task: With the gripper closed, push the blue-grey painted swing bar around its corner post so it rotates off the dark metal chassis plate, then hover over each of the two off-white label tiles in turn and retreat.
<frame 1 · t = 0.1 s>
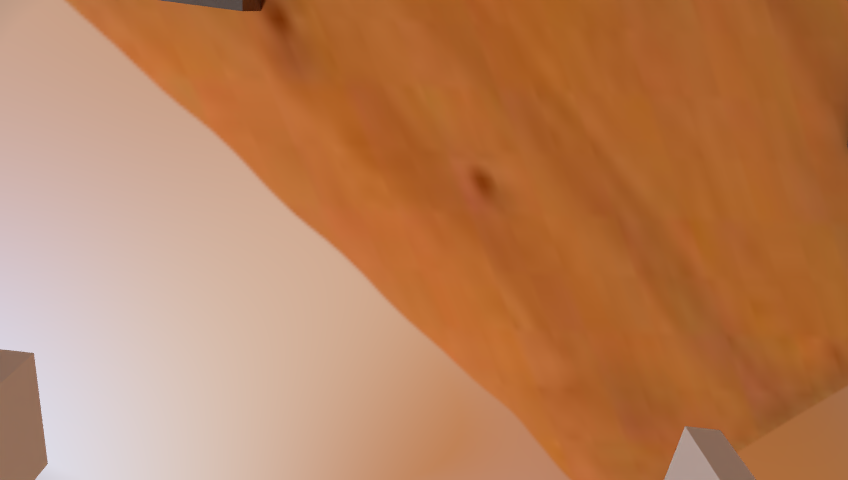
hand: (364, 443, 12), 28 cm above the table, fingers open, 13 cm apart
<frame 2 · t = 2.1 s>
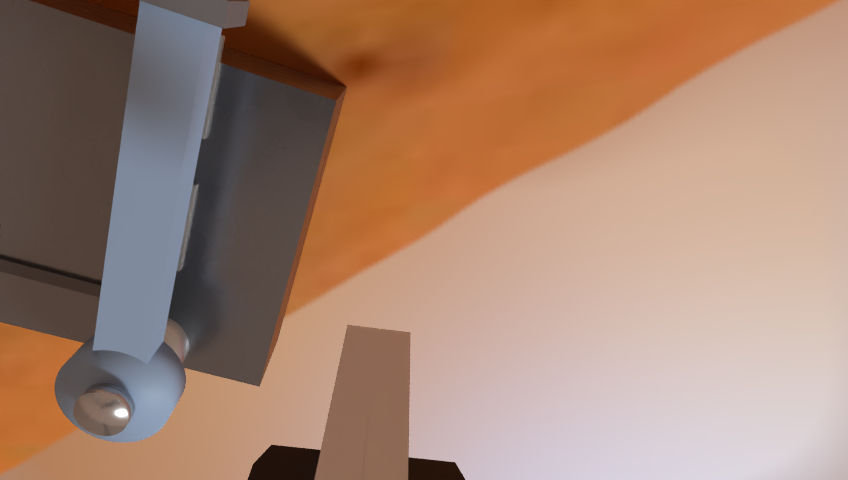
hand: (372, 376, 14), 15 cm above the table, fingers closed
chassis: (123, 170, 27), on the table
swing bar: (146, 239, 21), point 7 cm above the table, hinge at 0.0°
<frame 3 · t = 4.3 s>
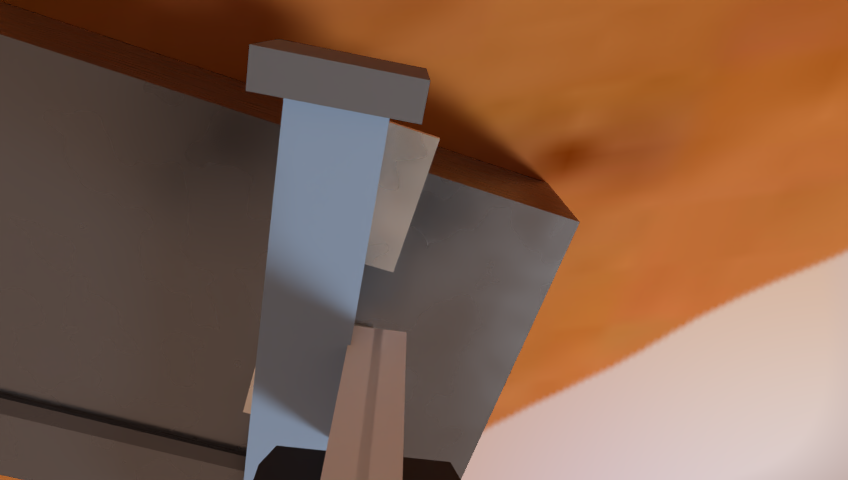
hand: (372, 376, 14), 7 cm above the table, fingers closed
chassis: (244, 284, 21), on the table
swing bar: (296, 422, 14), point 7 cm above the table, hinge at 7.7°, touching gripper
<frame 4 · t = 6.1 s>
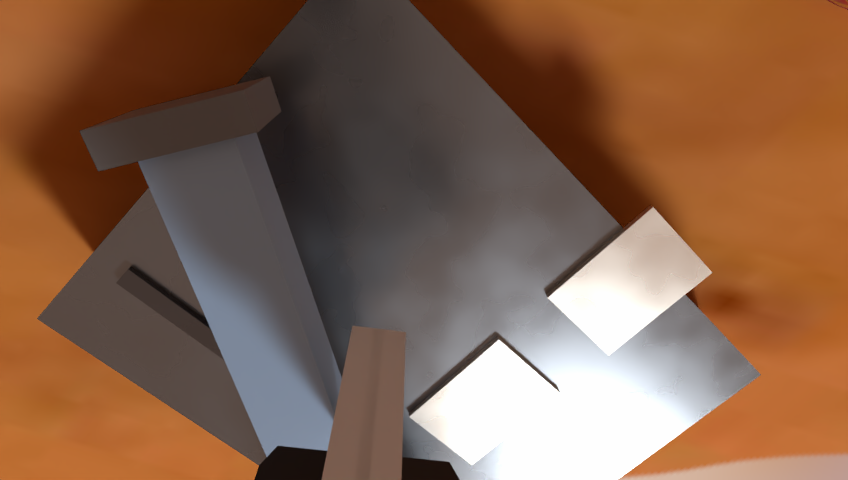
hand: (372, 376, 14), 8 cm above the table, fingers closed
chassis: (414, 290, 22), on the table
swing bar: (313, 435, 15), point 7 cm above the table, hinge at 58.0°, touching gripper
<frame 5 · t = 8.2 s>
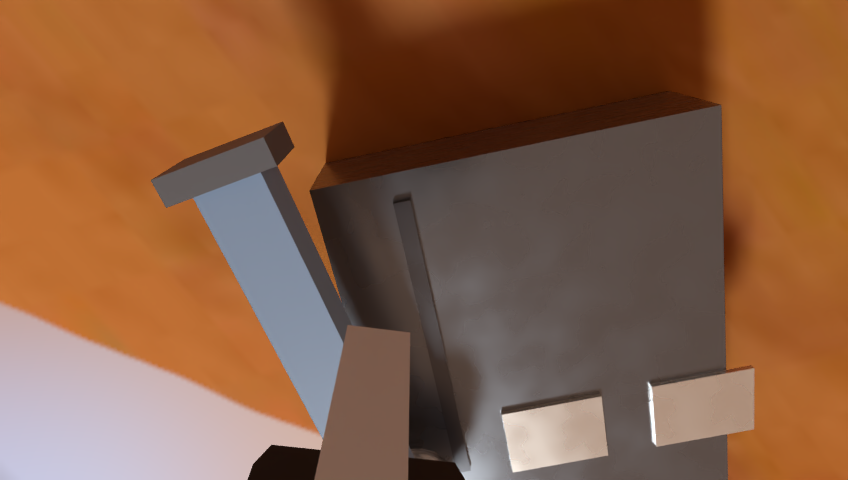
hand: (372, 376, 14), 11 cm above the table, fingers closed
chassis: (526, 321, 26), on the table
swing bar: (347, 400, 19), point 7 cm above the table, hinge at 98.5°
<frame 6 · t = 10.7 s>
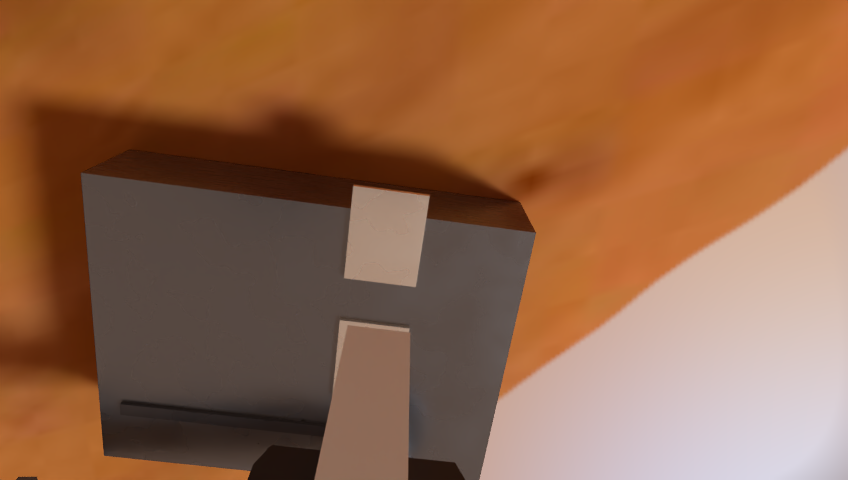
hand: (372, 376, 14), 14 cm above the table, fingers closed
chassis: (317, 309, 29), on the table
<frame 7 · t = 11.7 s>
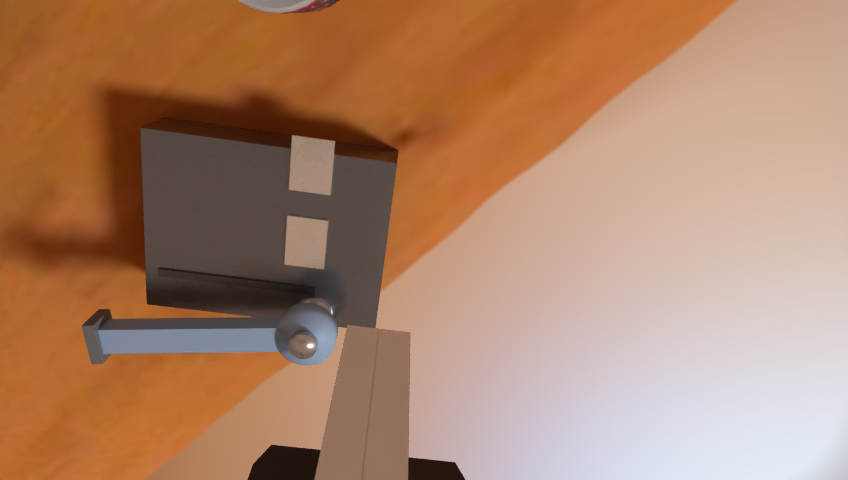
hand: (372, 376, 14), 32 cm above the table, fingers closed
chassis: (278, 218, 47), on the table
swing bar: (216, 335, 42), point 7 cm above the table, hinge at 98.5°
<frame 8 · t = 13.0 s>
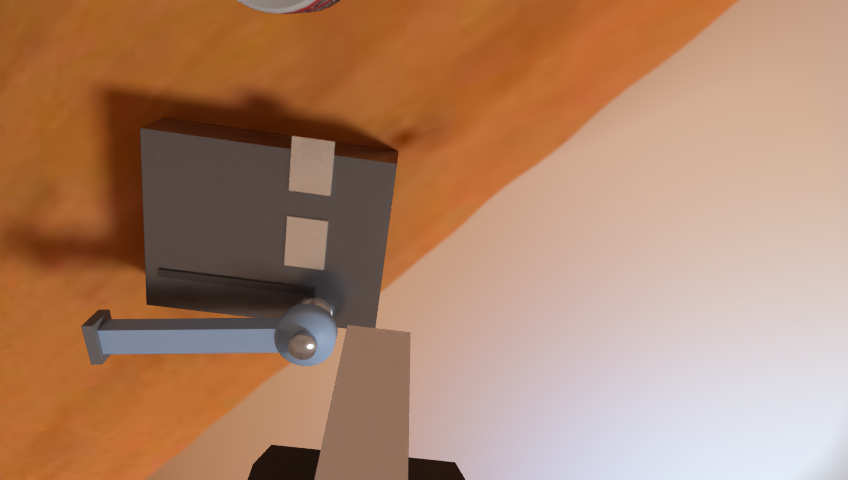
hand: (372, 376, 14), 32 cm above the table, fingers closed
chassis: (277, 219, 47), on the table
swing bar: (215, 335, 42), point 7 cm above the table, hinge at 98.5°
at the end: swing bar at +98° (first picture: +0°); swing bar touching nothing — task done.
